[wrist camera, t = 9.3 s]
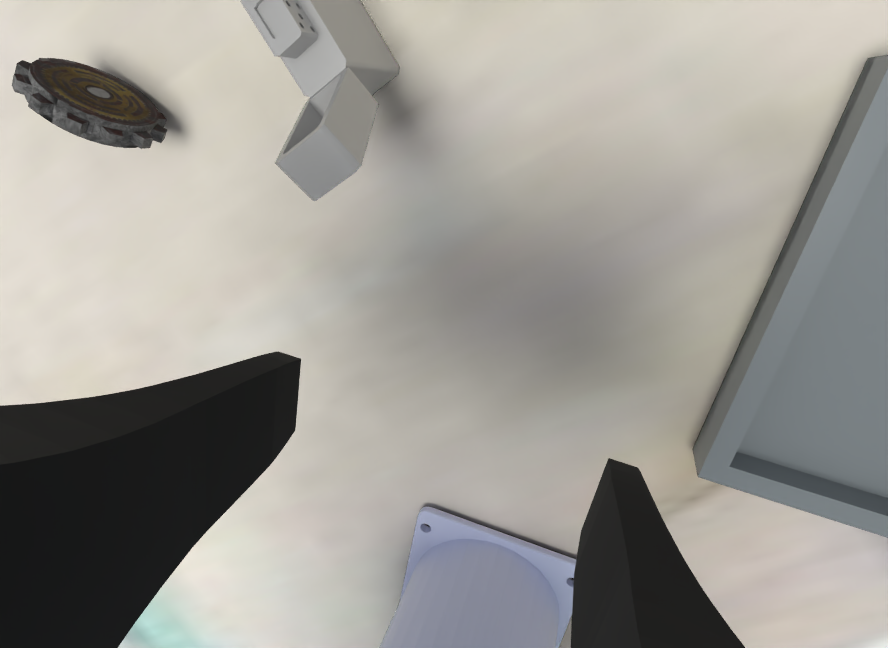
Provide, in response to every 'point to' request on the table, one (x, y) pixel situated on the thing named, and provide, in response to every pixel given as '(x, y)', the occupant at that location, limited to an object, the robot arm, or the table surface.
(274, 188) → the table surface
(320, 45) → the lighter
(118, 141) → the gear
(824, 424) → the tray
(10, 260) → the table surface
